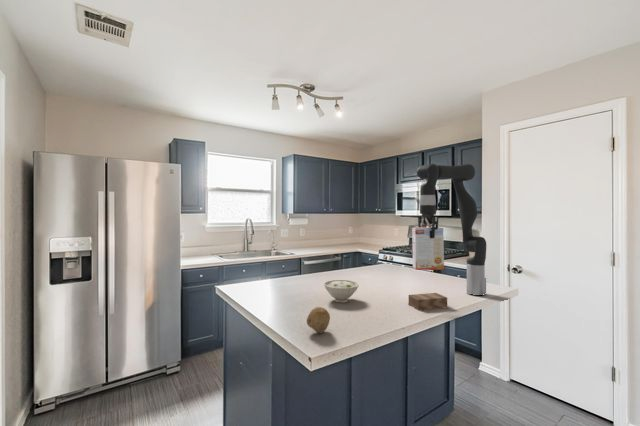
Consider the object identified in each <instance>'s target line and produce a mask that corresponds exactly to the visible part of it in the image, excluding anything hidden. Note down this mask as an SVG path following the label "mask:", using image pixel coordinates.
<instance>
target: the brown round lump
mask: <svg viewBox="0 0 640 426" xmlns="http://www.w3.org/2000/svg"><path fill="white" fill-rule="evenodd" d="M330 320H331V314H330V312H329V311H328V310H327V309H326V308H325V307H321V306H317V307H314V308H312V309H311V310H310V312H309V314H308V316H307V318H306V325H307V326H308V327H309V328H311V329H312V330H313V331H314V332H316V333H317V334H323V333H324V332H325V331H326V330H327V329H328V326H329V324H330Z"/></svg>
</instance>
